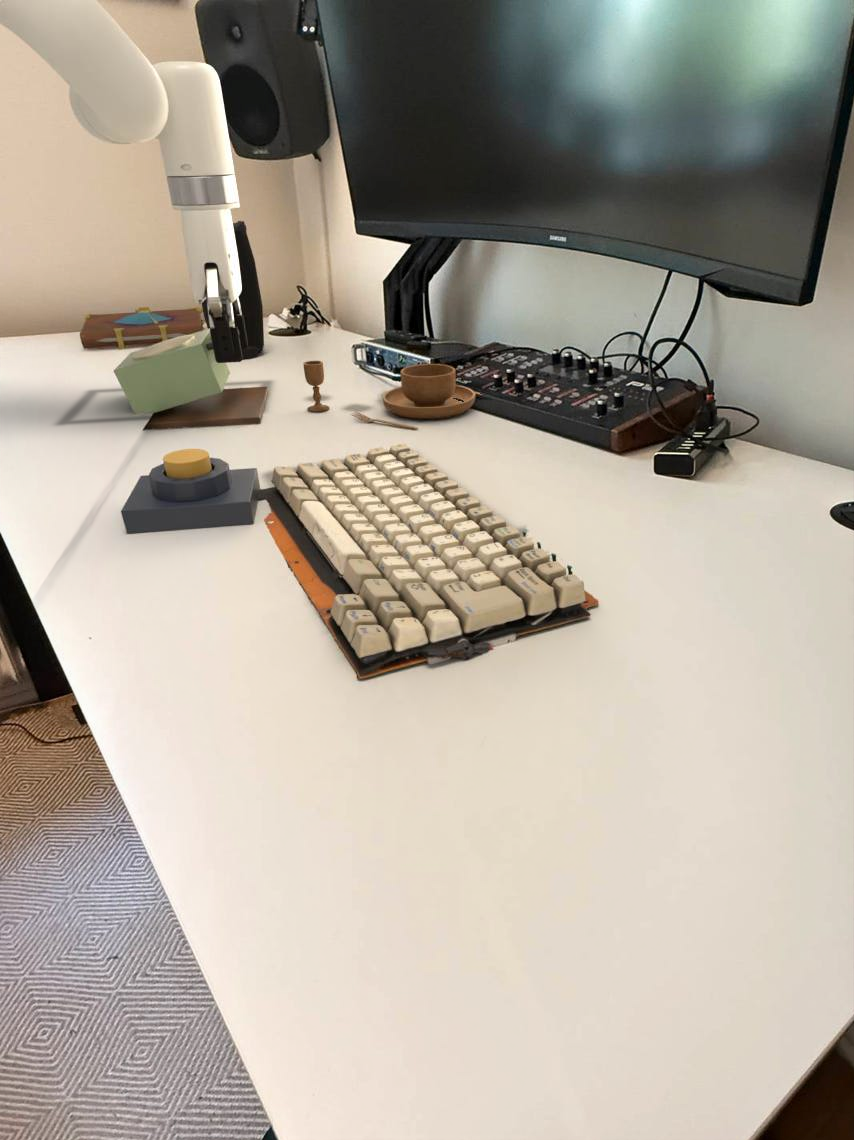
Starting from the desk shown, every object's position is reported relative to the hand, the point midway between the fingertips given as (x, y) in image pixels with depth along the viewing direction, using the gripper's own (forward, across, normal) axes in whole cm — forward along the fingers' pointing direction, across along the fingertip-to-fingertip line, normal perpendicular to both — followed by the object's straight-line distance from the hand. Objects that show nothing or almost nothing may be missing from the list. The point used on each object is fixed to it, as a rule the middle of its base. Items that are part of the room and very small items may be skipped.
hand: (232, 353), depth 101 cm
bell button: (+3, +35, -1) cm, 35 cm away
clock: (+3, 0, -13) cm, 13 cm away
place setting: (+7, +3, +21) cm, 22 cm away
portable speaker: (+7, -33, -3) cm, 34 cm away
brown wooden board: (+7, 0, -9) cm, 11 cm away
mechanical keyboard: (+7, +46, +17) cm, 50 cm away
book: (+7, -51, -19) cm, 55 cm away
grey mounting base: (+7, +35, -1) cm, 36 cm away
